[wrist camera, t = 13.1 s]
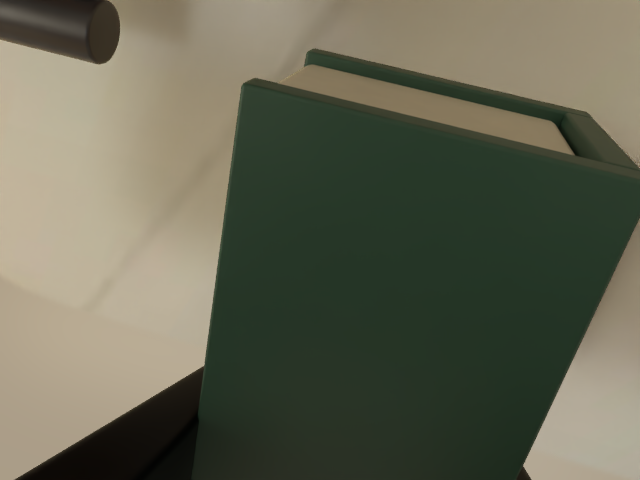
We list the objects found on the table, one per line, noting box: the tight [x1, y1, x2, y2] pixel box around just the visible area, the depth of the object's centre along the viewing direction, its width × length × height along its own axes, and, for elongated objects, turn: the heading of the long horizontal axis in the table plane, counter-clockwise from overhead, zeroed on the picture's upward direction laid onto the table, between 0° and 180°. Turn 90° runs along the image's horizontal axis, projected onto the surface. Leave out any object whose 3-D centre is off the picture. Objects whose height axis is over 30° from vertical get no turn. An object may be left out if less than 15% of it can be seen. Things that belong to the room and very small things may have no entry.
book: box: [191, 49, 640, 480], centre depth 9 cm, size 8×4×3 cm, turn 169°
